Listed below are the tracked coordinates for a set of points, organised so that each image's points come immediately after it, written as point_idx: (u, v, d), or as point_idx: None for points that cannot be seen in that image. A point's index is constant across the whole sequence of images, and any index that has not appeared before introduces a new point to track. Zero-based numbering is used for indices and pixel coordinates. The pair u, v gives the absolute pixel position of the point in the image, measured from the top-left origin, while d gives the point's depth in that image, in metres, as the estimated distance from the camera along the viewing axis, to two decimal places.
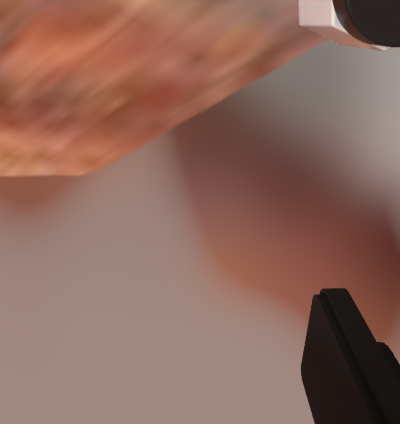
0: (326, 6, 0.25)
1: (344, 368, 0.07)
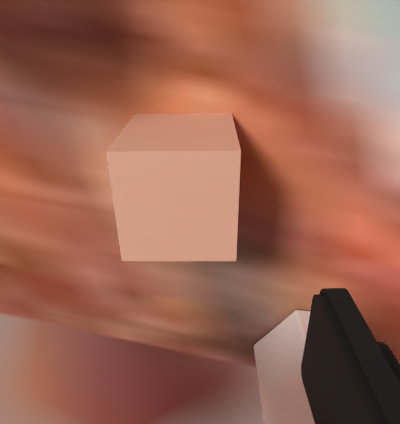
0: None
1: (344, 368, 0.07)
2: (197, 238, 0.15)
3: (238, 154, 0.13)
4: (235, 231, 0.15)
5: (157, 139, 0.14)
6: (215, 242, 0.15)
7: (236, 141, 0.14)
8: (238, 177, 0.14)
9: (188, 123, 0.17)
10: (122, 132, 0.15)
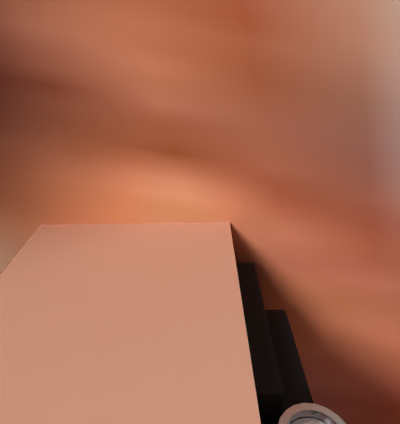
0: None
1: None
2: None
3: None
4: None
5: (36, 375, 0.05)
6: None
7: (249, 388, 0.05)
8: None
9: (137, 271, 0.08)
10: None
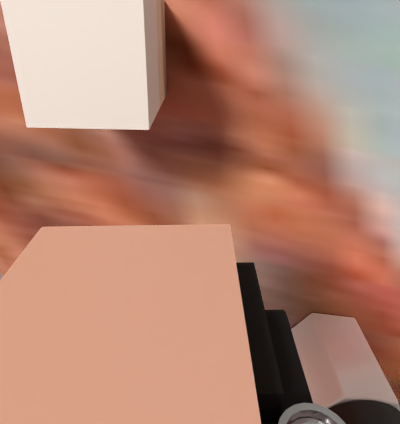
0: None
1: None
2: None
3: None
4: None
5: (38, 378, 0.05)
6: None
7: (250, 391, 0.05)
8: None
9: (138, 274, 0.08)
10: None
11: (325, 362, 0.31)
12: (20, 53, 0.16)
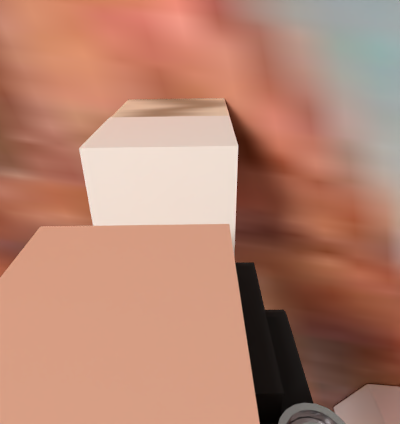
0: None
1: None
2: None
3: None
4: None
5: (36, 379, 0.05)
6: None
7: (248, 391, 0.05)
8: None
9: (137, 274, 0.08)
10: None
11: None
12: (100, 210, 0.15)
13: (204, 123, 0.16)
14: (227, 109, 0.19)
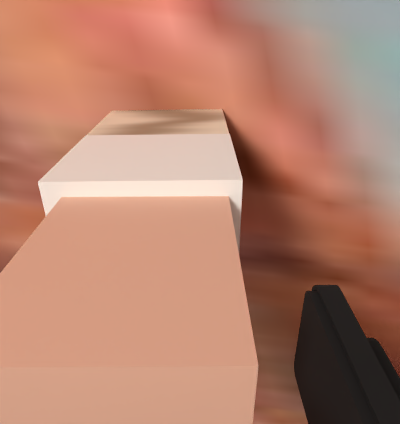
0: None
1: (334, 363, 0.07)
2: None
3: (252, 372, 0.05)
4: None
5: (70, 303, 0.07)
6: None
7: (244, 311, 0.06)
8: (250, 409, 0.06)
9: (149, 232, 0.09)
10: (9, 267, 0.08)
11: None
12: None
13: (199, 144, 0.13)
14: (226, 124, 0.16)
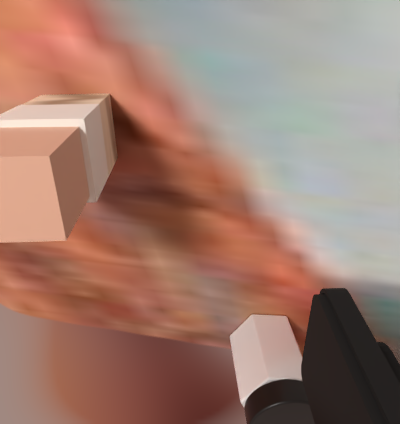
0: (245, 385, 0.39)
1: (344, 368, 0.07)
2: (31, 223, 0.20)
3: (47, 158, 0.18)
4: (59, 217, 0.19)
5: None
6: (46, 226, 0.20)
7: (54, 149, 0.19)
8: (52, 175, 0.18)
9: (34, 135, 0.21)
10: None
11: (257, 353, 0.40)
12: None
13: (77, 108, 0.26)
14: (102, 100, 0.29)
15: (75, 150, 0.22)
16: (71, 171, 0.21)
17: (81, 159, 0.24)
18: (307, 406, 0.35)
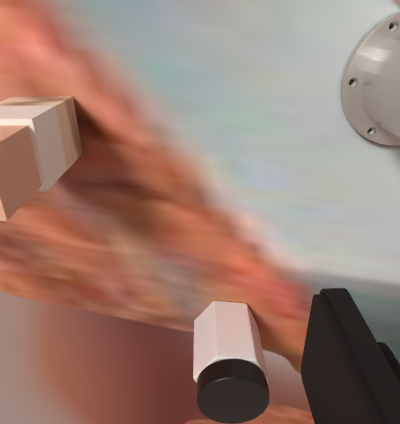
0: (199, 363, 0.42)
1: (344, 368, 0.07)
2: None
3: None
4: None
5: None
6: None
7: None
8: None
9: None
10: None
11: (212, 335, 0.43)
12: None
13: (34, 109, 0.30)
14: (61, 102, 0.33)
15: (22, 145, 0.26)
16: (16, 163, 0.25)
17: (30, 153, 0.28)
18: (248, 382, 0.38)
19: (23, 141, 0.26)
